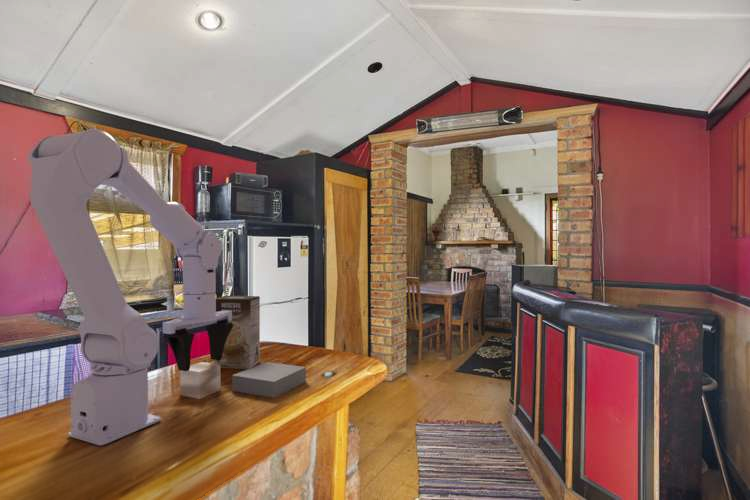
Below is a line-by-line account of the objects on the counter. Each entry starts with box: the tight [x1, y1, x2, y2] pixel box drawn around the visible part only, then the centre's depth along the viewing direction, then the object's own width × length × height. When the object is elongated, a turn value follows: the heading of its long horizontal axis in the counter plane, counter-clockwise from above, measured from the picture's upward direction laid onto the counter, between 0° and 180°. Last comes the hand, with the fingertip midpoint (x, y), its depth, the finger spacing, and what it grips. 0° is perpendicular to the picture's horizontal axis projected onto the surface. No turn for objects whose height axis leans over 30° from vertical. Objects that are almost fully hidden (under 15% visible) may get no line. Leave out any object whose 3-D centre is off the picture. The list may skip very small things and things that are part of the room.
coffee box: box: [213, 295, 261, 370], centre depth 96 cm, size 9×6×16 cm
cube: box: [179, 361, 221, 400], centre depth 78 cm, size 5×5×5 cm
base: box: [231, 361, 307, 399], centre depth 81 cm, size 10×10×3 cm
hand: (200, 364), depth 78 cm, fingers open, 7 cm apart
